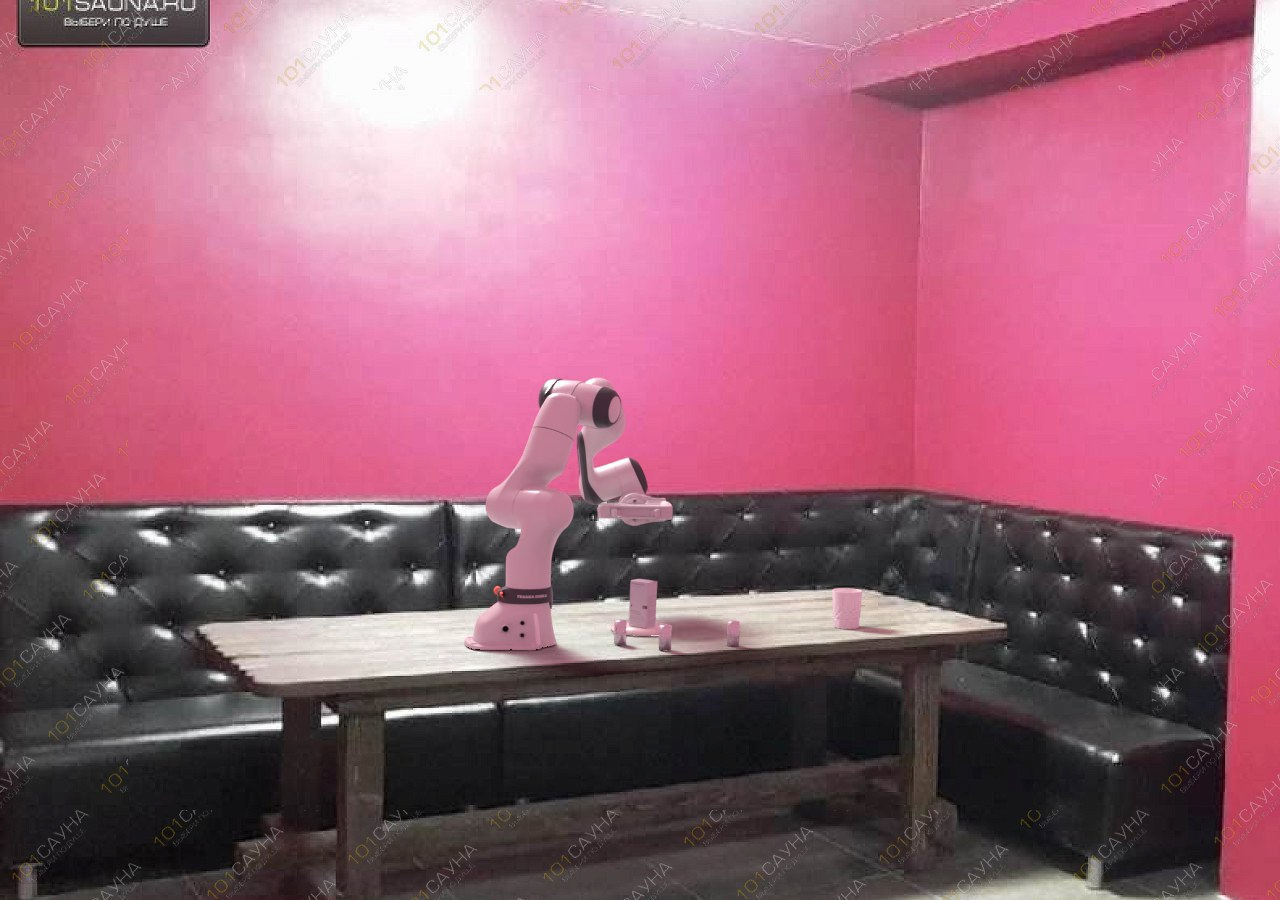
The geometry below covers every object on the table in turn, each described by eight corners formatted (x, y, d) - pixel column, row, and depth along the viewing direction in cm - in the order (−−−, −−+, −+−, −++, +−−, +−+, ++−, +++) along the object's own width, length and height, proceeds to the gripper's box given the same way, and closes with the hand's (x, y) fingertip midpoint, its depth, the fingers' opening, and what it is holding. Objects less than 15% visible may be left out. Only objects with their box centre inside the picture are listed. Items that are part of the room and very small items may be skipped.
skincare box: (627, 626, 358) (628, 580, 357) (638, 623, 361) (638, 578, 361) (646, 629, 354) (647, 582, 353) (657, 626, 358) (657, 580, 357)
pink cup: (840, 630, 363) (841, 593, 362) (826, 625, 370) (826, 588, 370) (866, 629, 366) (867, 591, 365) (851, 624, 373) (852, 587, 373)
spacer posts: (623, 652, 329) (623, 627, 328) (612, 643, 340) (613, 619, 339) (744, 648, 336) (744, 624, 336) (729, 640, 347) (730, 616, 347)
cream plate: (618, 637, 348) (618, 632, 348) (604, 626, 363) (604, 622, 363) (679, 635, 352) (679, 631, 352) (663, 624, 367) (663, 620, 367)
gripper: (596, 497, 376) (596, 501, 362) (671, 498, 377) (674, 502, 363) (596, 520, 376) (596, 525, 363) (670, 521, 377) (673, 526, 363)
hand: (635, 514), depth 363 cm, fingers open, 8 cm apart
